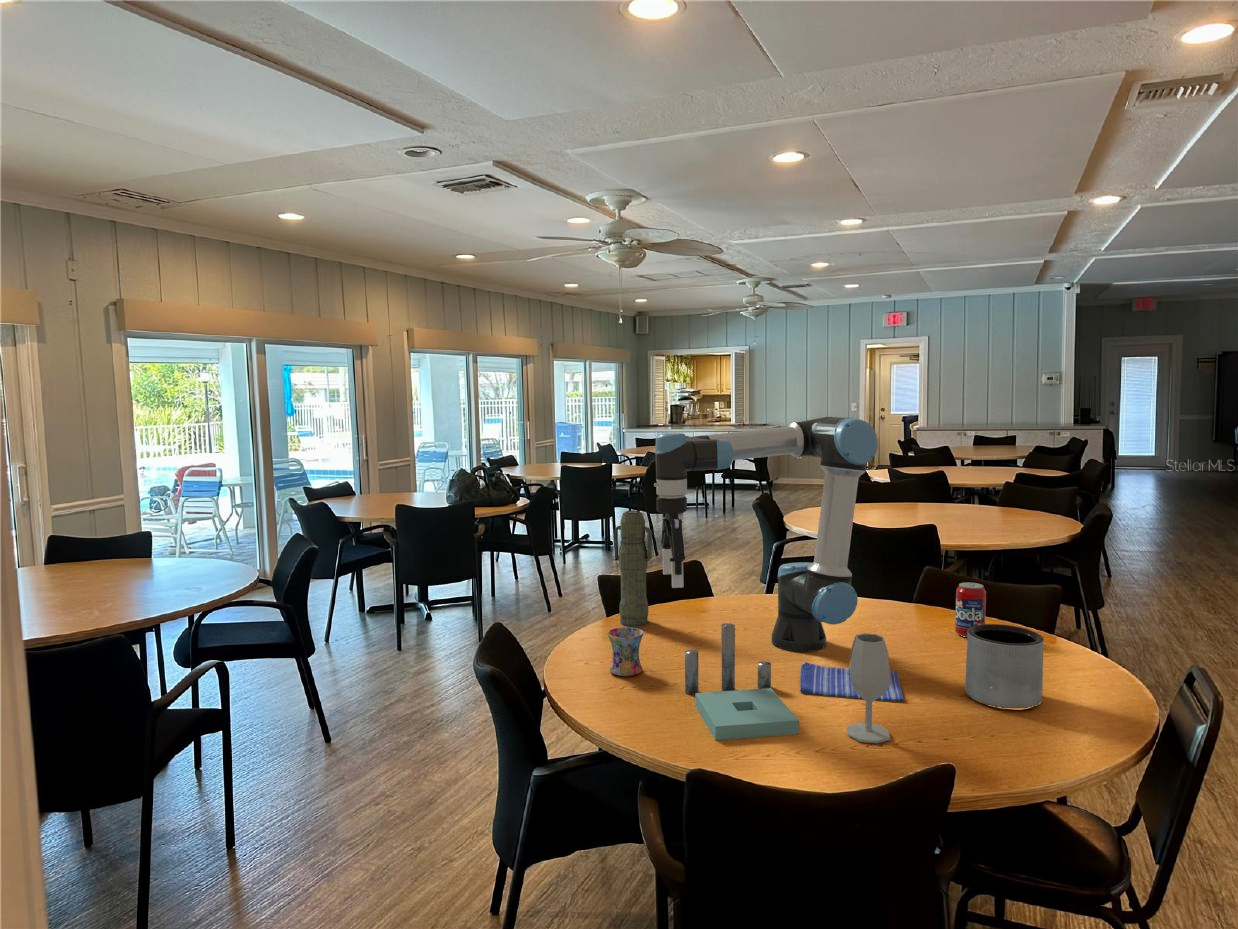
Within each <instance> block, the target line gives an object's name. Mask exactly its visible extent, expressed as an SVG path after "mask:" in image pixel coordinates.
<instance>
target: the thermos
mask: <svg viewBox="0 0 1238 929" xmlns="http://www.w3.org/2000/svg"><path fill="white" fill-rule="evenodd" d="M619 522H620V525H617V526H616V527H615V529H614V532H613V533H614V534H613V537H614V542H613V543H614V559H615V560H617V561H618V563H619V564H618V567H619V570H620V602H619V616H620V618H619V619H620V621H619V623H620V625H621V626H623V627H633V628H639V627H643V626H646V625H648V623H649V621H648V619H649V618H648V615H649V603H648V602H649V601H648V599H647V570H648V569H647V568H648V562H649V561H650V560H651V559H652V558H653V556H652V555H653V554H652V550H653V549H652V546H653V541H652V540H653V531H652V530H651V529H650V527H648V526H646V521H645V517H644V515H643V512H642V511H640V510H626V511H624V512H622V515H621V518H620V521H619ZM618 530H619V531H620V539H621V540H620V546H619V531H618ZM646 533H647V545H646Z"/></svg>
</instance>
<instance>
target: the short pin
mask: <svg viewBox="0 0 1238 929" xmlns="http://www.w3.org/2000/svg"><path fill="white" fill-rule="evenodd" d="M765 688H771V689H772V663H771V662H769V661H763V660H762V661H761V660H760V661H758V662H757V689H765Z"/></svg>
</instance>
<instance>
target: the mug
mask: <svg viewBox="0 0 1238 929" xmlns="http://www.w3.org/2000/svg"><path fill="white" fill-rule="evenodd" d="M644 633H645V632H644V630H643V629H640V628H639V627H629V626H622V627H615V628H611V629H609V630H608V631H607V636H608V638H609V641H610V643H611V648H612V661H611V665H610V667H609V671H610V673H612V674H613V675H615V676H618V677H619V676H620V677H632V676H637V675H639V674H640V673H642V671H643V666H642V663H641V661H640V660H641V659H640V646H641V641H642V638H643V636H644Z"/></svg>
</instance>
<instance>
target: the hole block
mask: <svg viewBox="0 0 1238 929" xmlns="http://www.w3.org/2000/svg"><path fill="white" fill-rule="evenodd" d="M694 696H695V698H694V700H695V703H694V704H695V705H694V706H695V708H696V710H697V711H698V713H699V715H700V717H701V718H702V719H703V722H704V723H705V725H706V726H707V729H708V730H709V731H710V734H711V735H712V737H713V738H714V740H715V741H723V740H724V741H725V740H737V739H738V740H739V739H750V738H751V739H752V738H763V737H764V738H765V737H777V736H790V735H792V736H793V735H799V734H800V721H799V718H798V717H797V716H796V715H795V713H793V712H792V710H791V709H790V708H789V707H788V705H786V703H785V702H784V701H783V700H782V699H781V698H780V697H779V696H778V695H777V693H776V692H775V691H774V690H773V689H772V687H771V688H765V689H759V688H753V689H740V690H739V689H738V690H736V689H735V691H722V690H721V691H710V692H709V691H708V692H699V693H695V695H694Z"/></svg>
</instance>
